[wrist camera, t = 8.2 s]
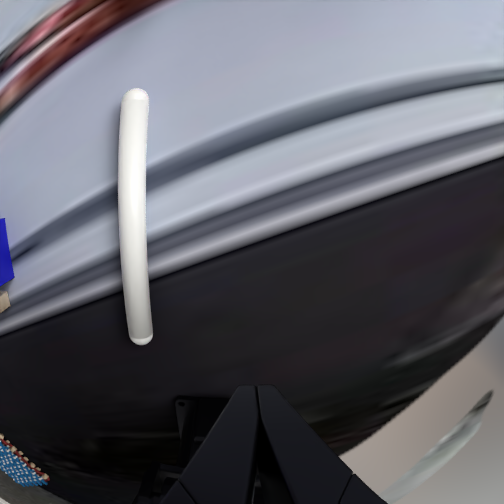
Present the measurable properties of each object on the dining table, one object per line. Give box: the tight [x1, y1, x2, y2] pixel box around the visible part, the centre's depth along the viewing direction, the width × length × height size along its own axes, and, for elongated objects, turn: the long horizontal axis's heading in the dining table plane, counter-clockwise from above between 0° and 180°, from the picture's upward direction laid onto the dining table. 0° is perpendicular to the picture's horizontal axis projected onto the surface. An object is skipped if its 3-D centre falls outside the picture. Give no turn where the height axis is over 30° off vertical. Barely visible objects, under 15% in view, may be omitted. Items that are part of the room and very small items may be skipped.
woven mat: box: [0, 433, 50, 487], centre depth 25 cm, size 10×11×2 cm
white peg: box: [118, 88, 153, 345], centre depth 17 cm, size 16×2×2 cm, turn 177°
